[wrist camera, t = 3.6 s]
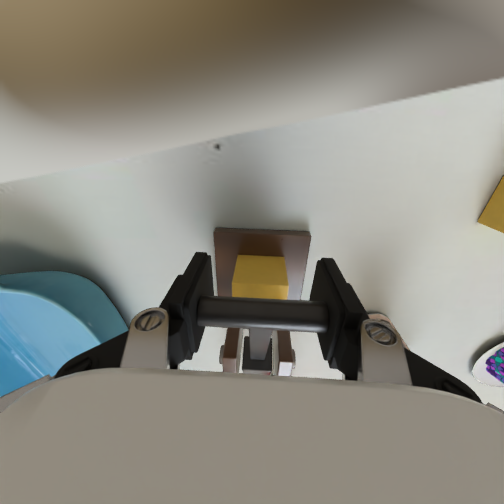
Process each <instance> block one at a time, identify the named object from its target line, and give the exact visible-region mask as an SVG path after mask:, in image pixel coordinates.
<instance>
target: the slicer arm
mask: <svg viewBox="0 0 504 504" xmlns="http://www.w3.org/2000/svg"><path fill="white" fill-rule="evenodd" d="M196 318H197V324H198V325H199V326H209V327H227V328H244V329H249V337H248V336H245V337H244V350H243V364H242V370H243V373H244V374H260V375H270V373H271V372H272V338H271V335H272V331H273V330H280V331H298V332H315V333H326V332H327V330H328V327H329V311H328V307H327V304H326V303H325V302H323V301H305V300H286V299H266V298H247V297H228V296H209V295H202V296H201V297H200V299H199V302H198V306H197V314H196Z"/></svg>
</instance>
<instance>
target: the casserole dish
mask: <svg viewBox="0 0 504 504" xmlns="http://www.w3.org/2000/svg"><path fill="white" fill-rule="evenodd" d="M128 330H129V329H128V328H127V326H126V324H125V322H124V320H123V319H122V317H121V316H120V314H119V312H118V311H117V309H116V308H115V306H114V305H113V304H112V302H111V301H110V300H109V298H108V297H107V296H106V294H105V293H104V292H103V291H102V290H101V289H100V288H99V287H98V286H97V285H96V284H95V283H93V282H92V281H90V280H89V279H87V278H85V277H82V276H78V275H76V274H72V273H67V272H60V271H41V272H26V273H17V274H8V275H0V397H1V396H3V395H5V394H8V393H10V392H12V391H14V390H16V389H18V388H20V387H22V386H25V385H27V384H29V383H31V382H33V381H35V380H37V379H40V378H42V377H44V376H46V375H48V374H50V376H51V377H52V376H54V375H56V373H57V371H58V370H59V369H60V368H61V367H62V366H63V365H64V364H65V363H66V362H67V361H69V360H70V359H72V358H74V357H75V356H77V355H79V354H81V353H83V352H85V351H87V350H89V349H91V348H93V347H95V346H98V345H100V344H102V343H104V342H106V341H108V340H110V339H112V338H114V337H116V336H118V335H120V334H122V333H124V332H126V331H128Z"/></svg>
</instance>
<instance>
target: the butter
mask: <svg viewBox="0 0 504 504" xmlns="http://www.w3.org/2000/svg"><path fill="white" fill-rule="evenodd" d="M288 289H289V283H288V277H287V271H286V265H285V259H284V257H275V256H253V255H238V257H237V261H236V266H235V271H234V275H233V280H232V297H247V298H266V299H286V300H287V296H288Z"/></svg>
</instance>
